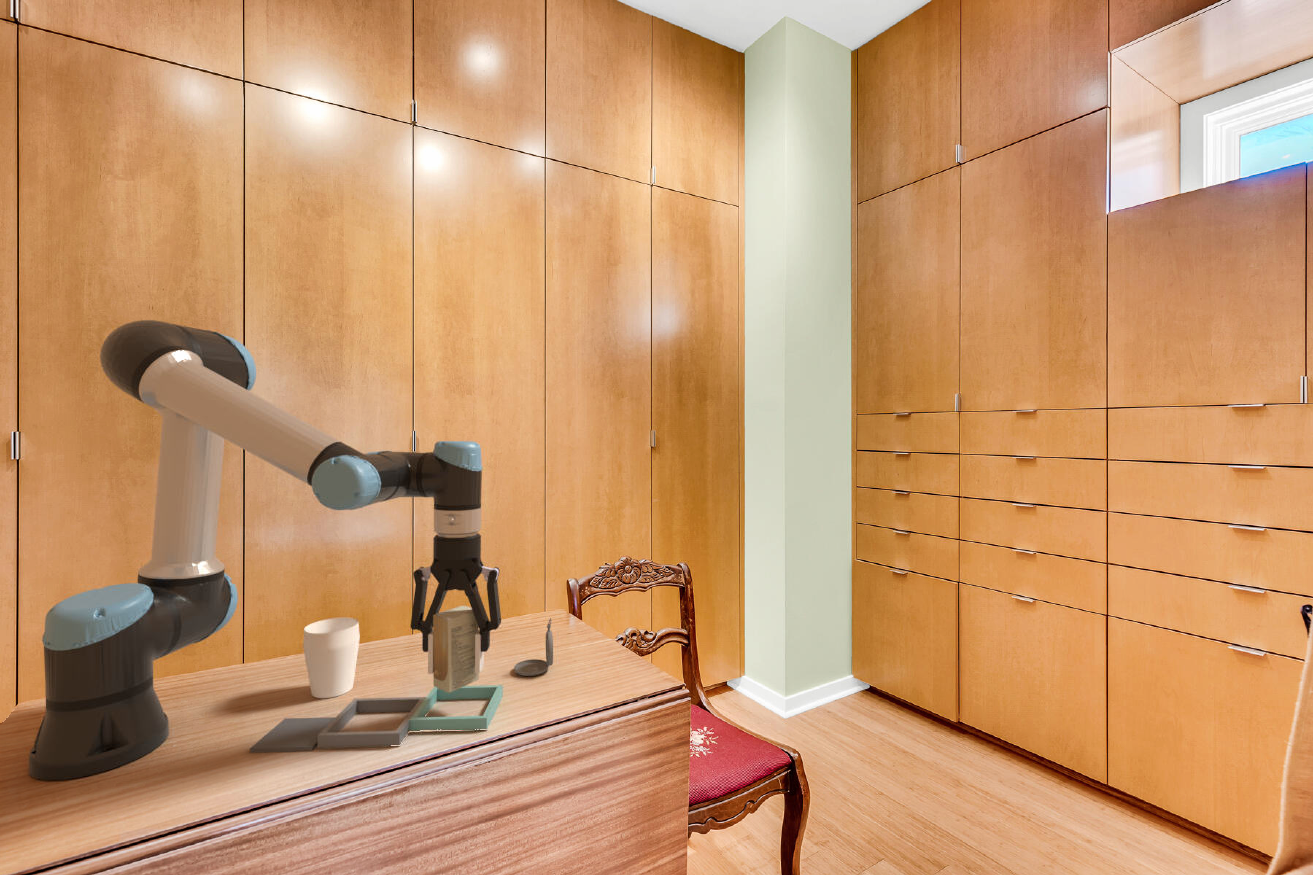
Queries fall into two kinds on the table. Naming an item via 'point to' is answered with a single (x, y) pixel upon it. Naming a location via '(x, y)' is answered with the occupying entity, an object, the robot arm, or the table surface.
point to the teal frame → (457, 722)
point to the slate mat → (292, 735)
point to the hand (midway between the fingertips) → (456, 669)
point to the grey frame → (337, 739)
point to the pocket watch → (537, 665)
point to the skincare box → (454, 648)
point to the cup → (331, 655)
